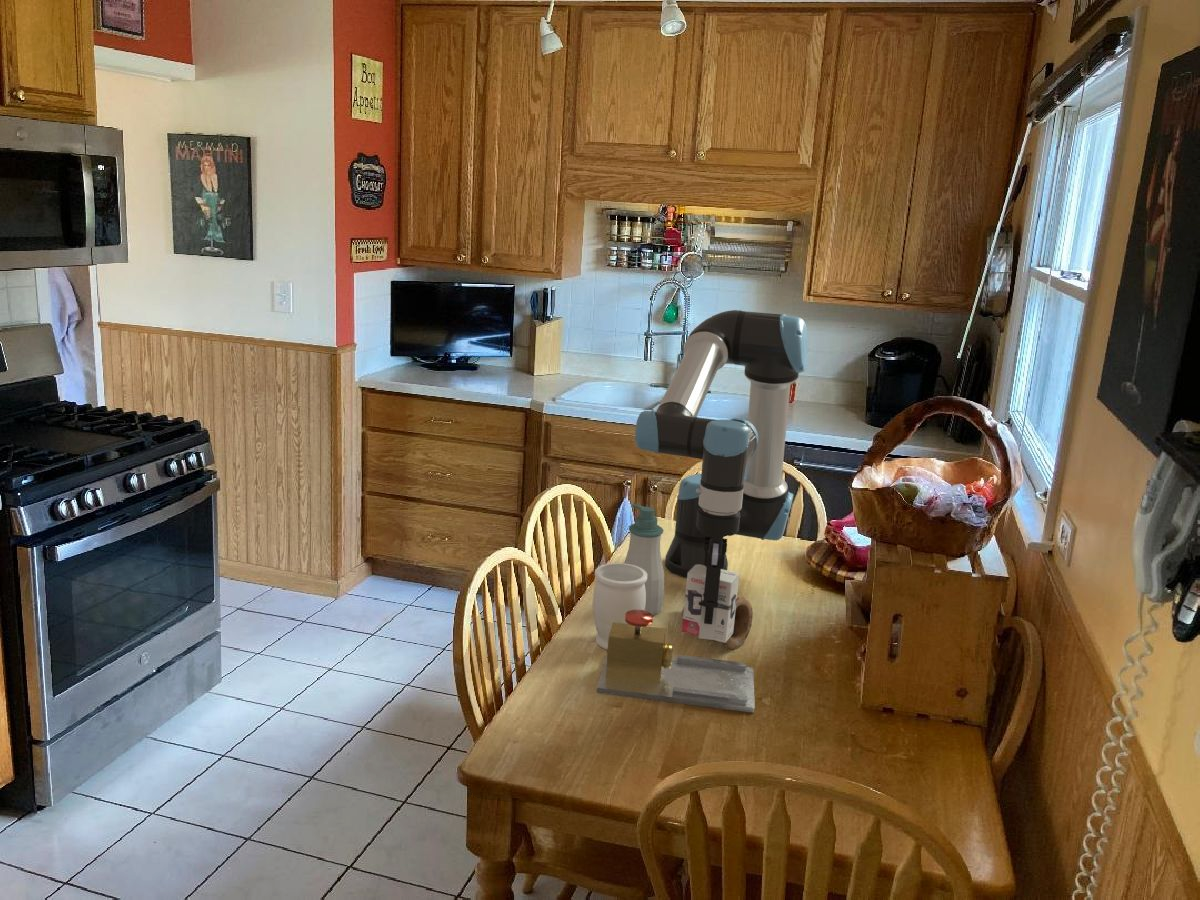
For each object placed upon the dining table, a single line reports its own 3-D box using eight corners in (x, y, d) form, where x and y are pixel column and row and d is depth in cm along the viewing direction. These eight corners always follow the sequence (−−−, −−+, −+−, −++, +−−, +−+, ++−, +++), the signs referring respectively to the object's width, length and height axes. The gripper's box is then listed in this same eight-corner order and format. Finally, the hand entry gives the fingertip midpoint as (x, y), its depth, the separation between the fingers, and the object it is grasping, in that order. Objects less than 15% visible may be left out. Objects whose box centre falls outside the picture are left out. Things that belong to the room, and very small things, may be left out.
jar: (607, 625, 195) (612, 558, 191) (651, 640, 190) (657, 570, 186) (580, 644, 186) (584, 574, 182) (625, 659, 181) (631, 587, 177)
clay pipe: (679, 664, 189) (753, 656, 184) (667, 615, 187) (741, 606, 182) (695, 623, 206) (763, 615, 202) (684, 578, 204) (752, 569, 200)
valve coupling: (607, 654, 183) (611, 595, 180) (752, 672, 180) (759, 612, 177) (596, 692, 169) (600, 629, 166) (754, 712, 165) (761, 648, 162)
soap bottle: (638, 595, 211) (646, 498, 205) (671, 610, 204) (680, 511, 198) (607, 606, 204) (614, 507, 198) (640, 622, 198) (649, 520, 192)
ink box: (680, 632, 170) (686, 571, 167) (689, 622, 175) (695, 562, 172) (725, 643, 167) (732, 582, 164) (733, 633, 171) (740, 572, 168)
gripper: (699, 491, 174) (688, 606, 180) (695, 524, 156) (683, 651, 162) (740, 495, 173) (728, 610, 179) (741, 529, 155) (727, 656, 161)
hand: (707, 629), depth 171 cm, fingers closed on ink box, 6 cm apart
